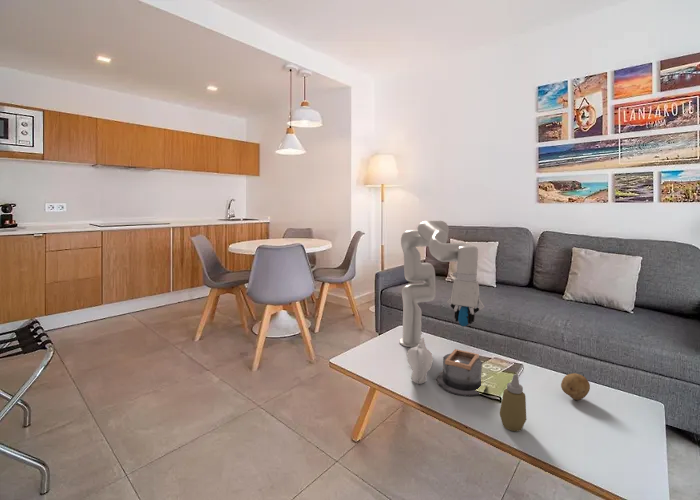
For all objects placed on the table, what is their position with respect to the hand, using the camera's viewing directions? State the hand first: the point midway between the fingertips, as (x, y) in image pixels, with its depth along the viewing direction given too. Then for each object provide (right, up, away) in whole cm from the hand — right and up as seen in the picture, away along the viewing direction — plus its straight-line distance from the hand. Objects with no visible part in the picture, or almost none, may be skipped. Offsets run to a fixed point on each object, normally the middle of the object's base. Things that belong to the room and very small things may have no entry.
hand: (464, 321), depth 143 cm
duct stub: (0, -26, +3) cm, 26 cm away
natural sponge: (+39, -28, -7) cm, 49 cm away
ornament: (0, -2, 0) cm, 2 cm away
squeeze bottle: (+8, -30, -24) cm, 40 cm away
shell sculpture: (-17, -26, +5) cm, 32 cm away
